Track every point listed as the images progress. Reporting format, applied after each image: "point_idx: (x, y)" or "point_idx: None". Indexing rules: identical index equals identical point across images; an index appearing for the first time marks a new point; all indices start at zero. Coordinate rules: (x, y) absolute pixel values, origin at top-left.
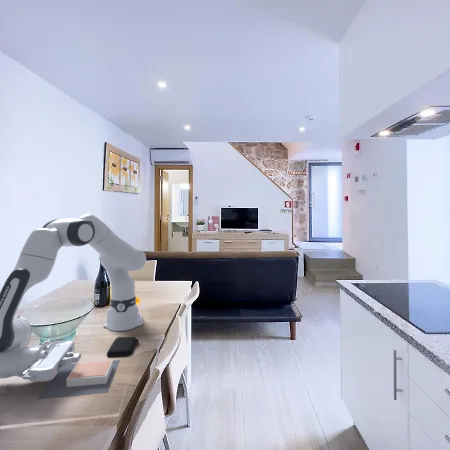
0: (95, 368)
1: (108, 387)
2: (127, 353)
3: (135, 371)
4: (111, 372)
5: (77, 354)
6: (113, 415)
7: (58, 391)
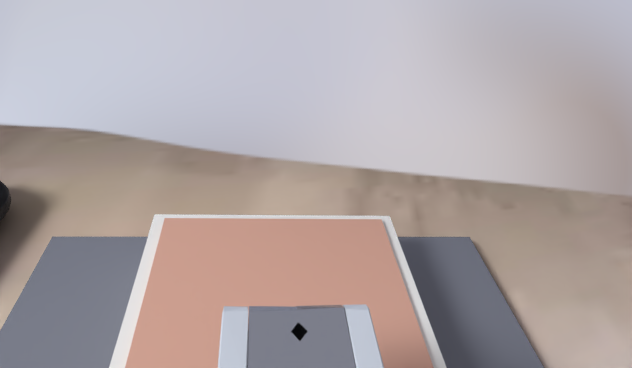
0: (280, 289)
1: (421, 240)
2: (4, 189)
3: (234, 173)
4: None
5: (267, 330)
6: (599, 205)
7: None
